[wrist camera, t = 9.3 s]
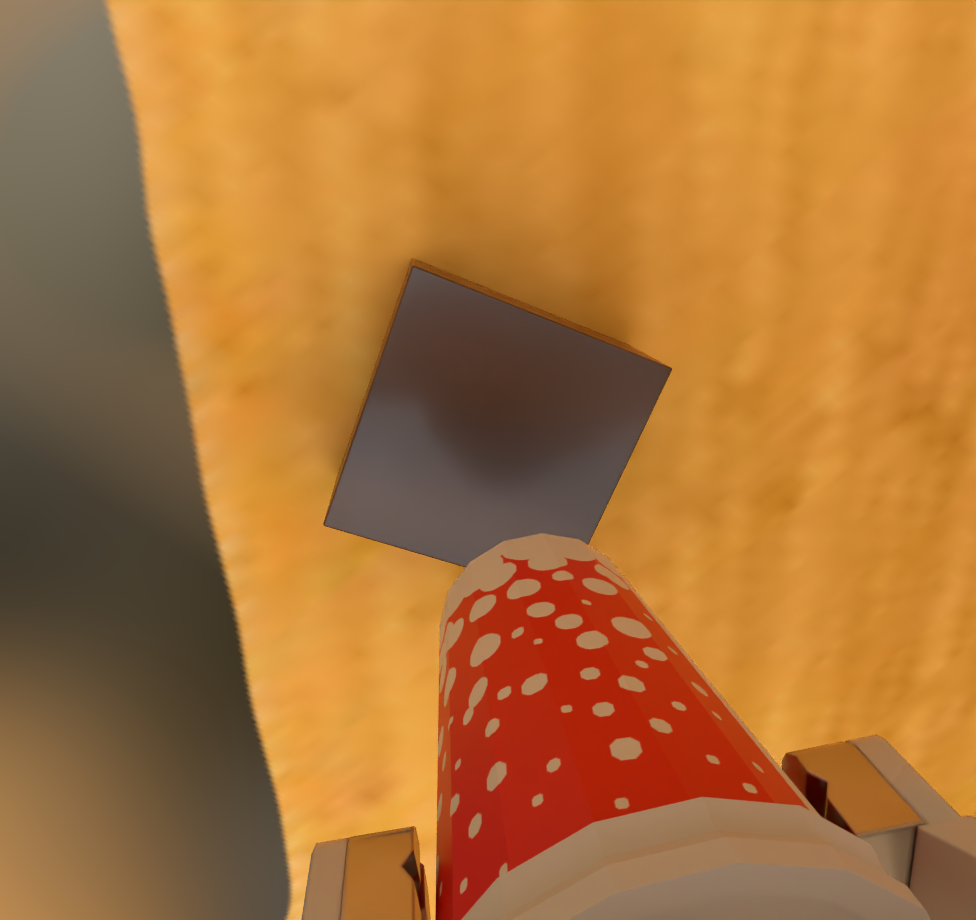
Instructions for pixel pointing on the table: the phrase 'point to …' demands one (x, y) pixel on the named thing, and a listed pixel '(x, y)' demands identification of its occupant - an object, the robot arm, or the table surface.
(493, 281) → the table surface
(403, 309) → the walnut block
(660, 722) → the beverage cup
